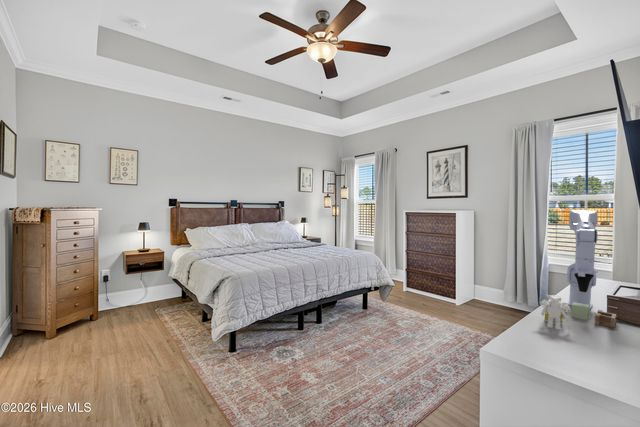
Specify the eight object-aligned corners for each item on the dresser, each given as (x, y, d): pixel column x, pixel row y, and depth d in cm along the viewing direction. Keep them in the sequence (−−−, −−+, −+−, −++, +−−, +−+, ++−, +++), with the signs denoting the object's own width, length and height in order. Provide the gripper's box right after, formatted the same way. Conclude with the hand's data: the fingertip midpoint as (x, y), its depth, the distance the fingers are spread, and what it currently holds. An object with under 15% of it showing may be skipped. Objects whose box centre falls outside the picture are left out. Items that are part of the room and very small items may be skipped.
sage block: (573, 313, 128) (573, 301, 127) (589, 317, 124) (589, 305, 124) (571, 316, 124) (571, 304, 124) (587, 320, 121) (588, 307, 120)
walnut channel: (562, 310, 131) (562, 301, 131) (616, 322, 119) (616, 312, 119) (557, 316, 124) (558, 306, 124) (613, 329, 112) (614, 318, 112)
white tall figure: (556, 319, 120) (557, 294, 120) (565, 325, 115) (567, 299, 115) (541, 318, 121) (542, 294, 121) (550, 324, 116) (551, 298, 115)
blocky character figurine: (537, 325, 114) (539, 292, 114) (540, 322, 117) (542, 291, 116) (568, 333, 107) (570, 299, 107) (570, 330, 110) (572, 296, 110)
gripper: (595, 262, 118) (593, 297, 119) (600, 258, 128) (598, 290, 129) (572, 259, 123) (570, 293, 124) (578, 255, 133) (576, 287, 134)
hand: (583, 291), depth 127 cm, fingers closed
